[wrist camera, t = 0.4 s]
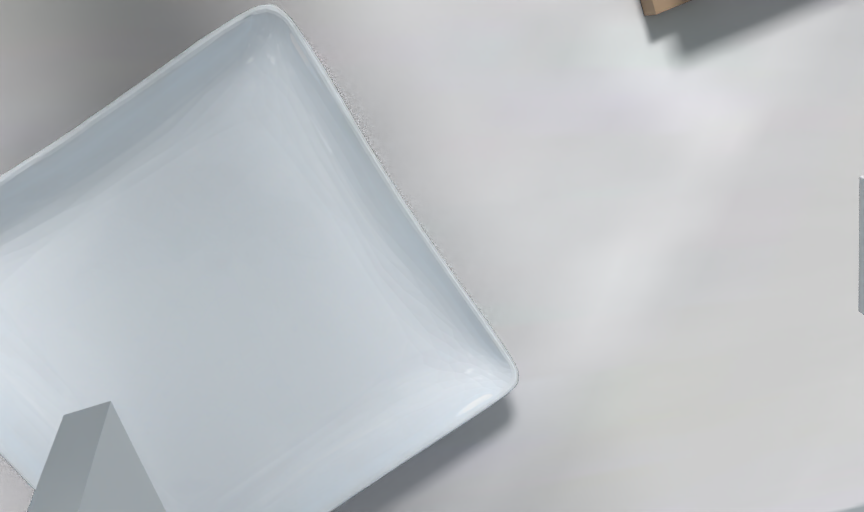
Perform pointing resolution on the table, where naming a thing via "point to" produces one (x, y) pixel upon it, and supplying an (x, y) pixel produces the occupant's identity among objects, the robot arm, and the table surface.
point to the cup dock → (659, 5)
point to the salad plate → (233, 287)
